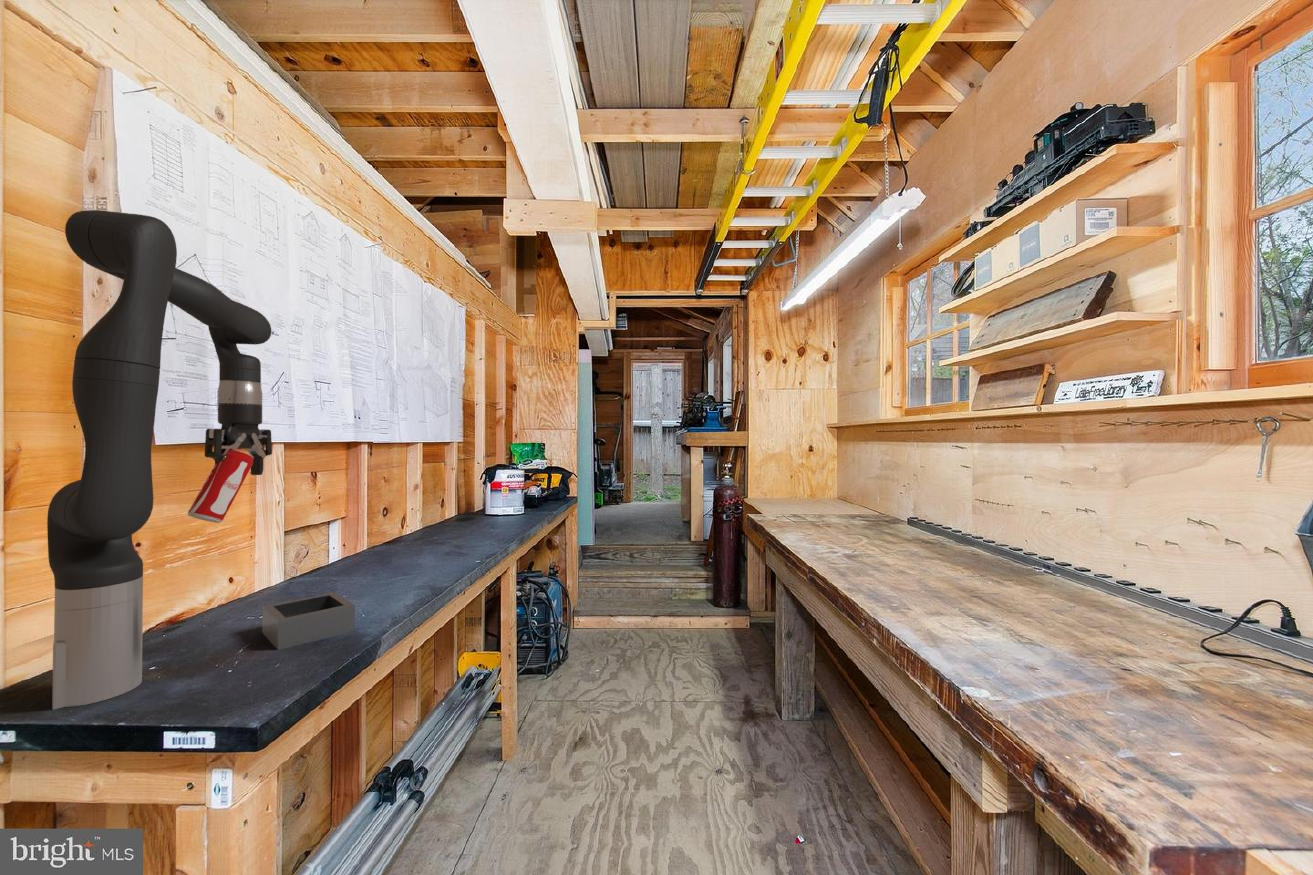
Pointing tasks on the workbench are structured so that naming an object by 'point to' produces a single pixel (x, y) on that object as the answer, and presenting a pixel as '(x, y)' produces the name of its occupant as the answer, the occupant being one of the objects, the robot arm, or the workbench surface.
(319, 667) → the workbench surface
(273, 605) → the socket block
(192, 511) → the beverage can
